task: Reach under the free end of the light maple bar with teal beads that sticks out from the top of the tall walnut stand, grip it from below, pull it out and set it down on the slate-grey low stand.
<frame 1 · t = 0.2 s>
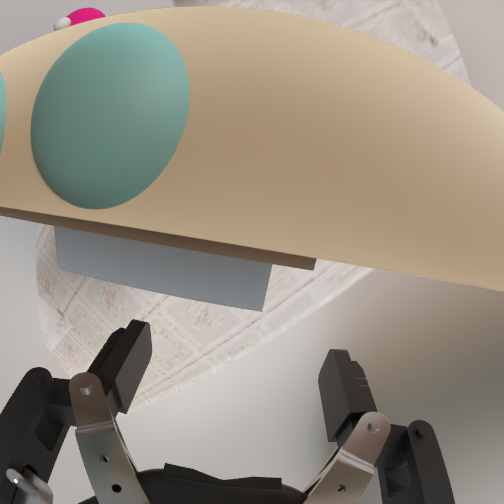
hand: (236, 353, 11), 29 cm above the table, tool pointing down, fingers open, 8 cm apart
maple bar: (276, 135, 6), point 32 cm above the table, touching tall stand
tall stand: (218, 137, 35), on the table
pepper mill: (140, 63, 31), on the table
low stand: (210, 189, 38), on the table
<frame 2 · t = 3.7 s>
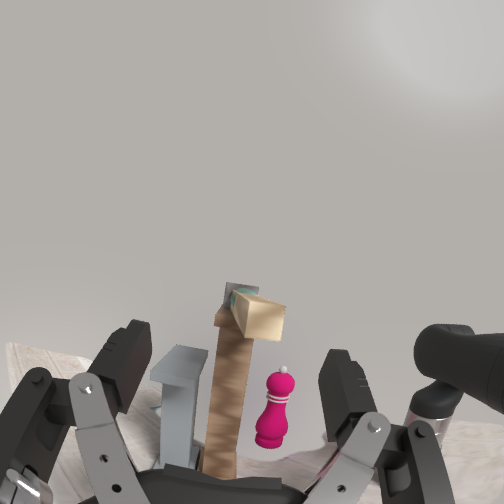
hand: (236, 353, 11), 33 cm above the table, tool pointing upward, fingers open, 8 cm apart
maple bar: (245, 317, 34), point 32 cm above the table, touching tall stand
tall stand: (216, 473, 37), on the table
pepper mill: (268, 442, 51), on the table
low stand: (176, 466, 37), on the table
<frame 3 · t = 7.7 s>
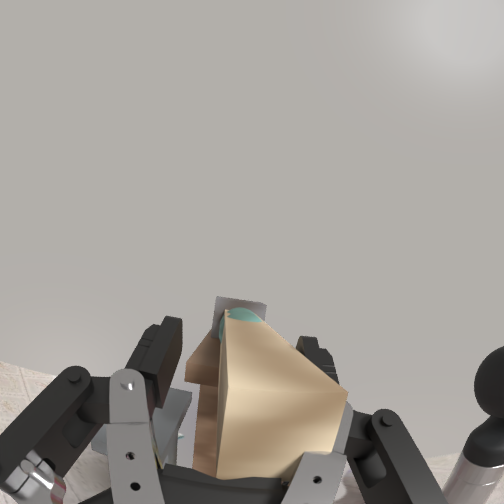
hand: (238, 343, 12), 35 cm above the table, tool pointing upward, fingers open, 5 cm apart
maple bar: (241, 365, 18), point 32 cm above the table, touching gripper, tall stand
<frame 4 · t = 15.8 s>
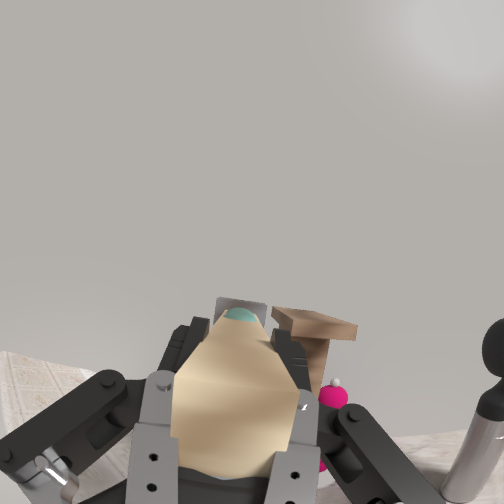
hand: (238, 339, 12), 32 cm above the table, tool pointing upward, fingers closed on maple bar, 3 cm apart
maple bar: (234, 364, 18), point 29 cm above the table, touching gripper
pepper mill: (312, 465, 40), on the table
when the fingers open (27 cm above the table, at t = 18.0 s): maple bar stays where it is, resting on low stand.
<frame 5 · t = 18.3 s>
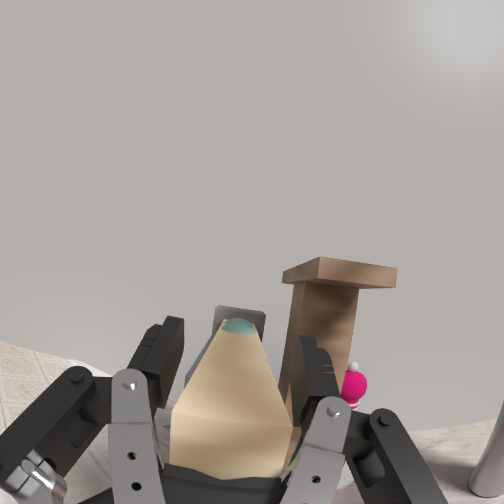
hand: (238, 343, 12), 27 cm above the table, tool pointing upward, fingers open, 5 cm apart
maple bar: (232, 376, 18), point 23 cm above the table, touching low stand
pepper mill: (326, 464, 35), on the table
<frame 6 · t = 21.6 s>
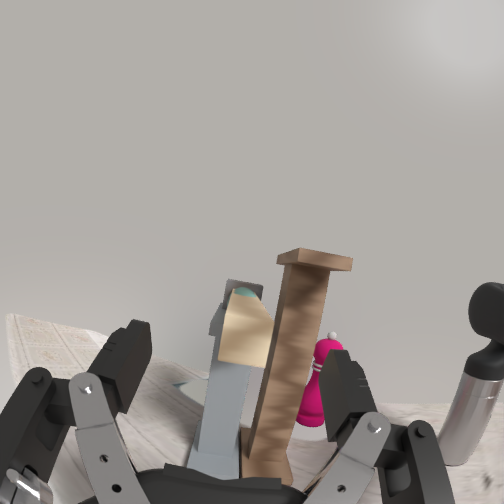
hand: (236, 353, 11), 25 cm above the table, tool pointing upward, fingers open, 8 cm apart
maple bar: (240, 324, 28), point 23 cm above the table, touching low stand
tall stand: (262, 457, 34), on the table
pepper mill: (308, 420, 48), on the table
low stand: (214, 451, 33), on the table
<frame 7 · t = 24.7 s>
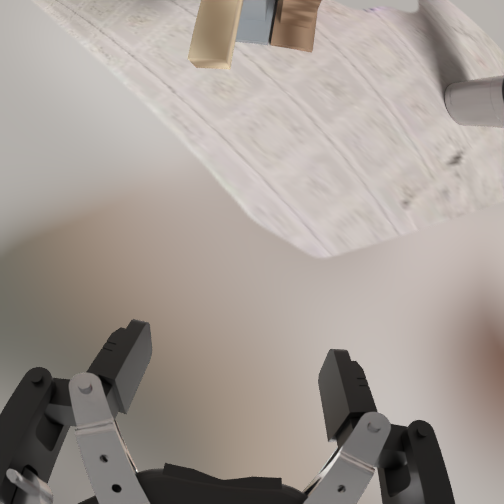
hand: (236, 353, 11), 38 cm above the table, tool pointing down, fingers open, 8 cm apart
tall stand: (295, 17, 34), on the table
low stand: (253, 12, 34), on the table
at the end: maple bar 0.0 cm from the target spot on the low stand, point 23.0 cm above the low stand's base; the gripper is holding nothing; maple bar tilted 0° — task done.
